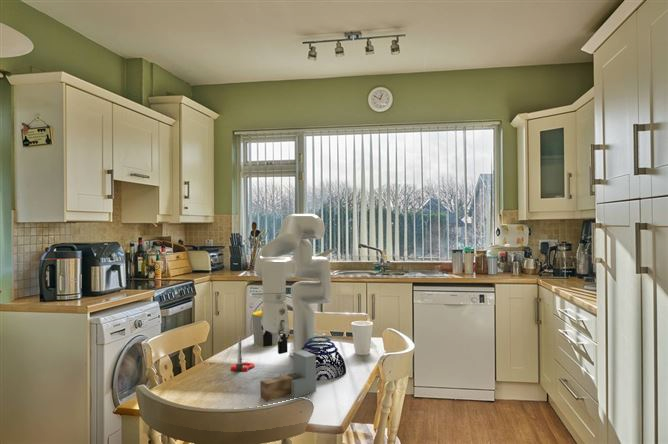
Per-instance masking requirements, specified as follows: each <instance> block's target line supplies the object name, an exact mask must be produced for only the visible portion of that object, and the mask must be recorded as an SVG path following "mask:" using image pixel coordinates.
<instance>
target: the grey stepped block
mask: <svg viewBox="0 0 668 444" xmlns="http://www.w3.org/2000/svg"><path fill="white" fill-rule="evenodd" d="M316 357H317V356H316V355H315V354H312V353H309V352H307V351H304V350H300V351H295V352H293V357H292V367H293V368H292V369H293V370H292V371H288V372H286V373H282V374H281V373H280V374H279V376H283V375H286V374H290V373H294V374H296V375H298V376H299V379H295V380H291V395H290V396H291V397H292V398H295V399H296V398H298V397H302V396H305V395H306V396H307V395H308V394H309V393H312V392H315V391H317V374H316V372H317V369H316V366H317V365H316V362H317V361H316Z"/></svg>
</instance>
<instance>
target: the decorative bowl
mask: <svg viewBox="0 0 668 444" xmlns="http://www.w3.org/2000/svg"><path fill="white" fill-rule="evenodd" d="M326 335H327V334H326V332H315V333H314V334H313V336H315V337H312V338H310V339H309V340H308V341H309V342H307V343H306V344H305V345H304V347H303V348H302V349H301V350H304V348H306V349H309V350H310V351H308V352H309V353H312V354H315V355H316V375H317V376H316V381H321V378H322V377H324V378H326V379H323V381H330V380H334V379H338V378H341V377H343V376H345V374H346V373H347V367H346V363H345V360H344V358H343V356H342V355H341V353H339V349H338V348H337V346H336V345H335V343H334V342H332V341H331V338H329V337H326ZM314 338H315V339H322V340H315V341H313V340H312V339H314ZM323 339H326V340H323ZM309 343H324V344H311V345H307V344H309ZM311 346H324V347H322V348H320V347H311ZM330 349H334V350H331V351H328V350H330ZM312 350H313V351H312ZM304 351H305V350H304ZM313 352H315V353H313ZM318 352H319V353H318ZM332 354H334V356H333V355H332ZM321 367H325V369H324V368H323V369H320V370H318V371H317V369H319V368H321ZM332 367H333V368H332ZM327 368H328V369H329V370H328V369H327ZM320 372H326V373H320ZM319 373H320V374H319ZM332 373H333V374H332Z"/></svg>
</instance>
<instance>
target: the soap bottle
mask: <svg viewBox="0 0 668 444" xmlns="http://www.w3.org/2000/svg"><path fill="white" fill-rule="evenodd" d="M261 301H262V302H263V298H262V299H261ZM251 316H252V317H251V318H252V329H253V330H252V331H253V332H252V333H253V334H252V335H253V344H254V346H255V347H260V348H261V347H262V348H264V347H263V334H262V331H263V330H262V328H261V327H262V325H261V319H262V316H263V305H262V306H261V310H258V311H257V310H256V311H254V312H252V314H251ZM270 334H272V346H271V347H274V346H278V341H279V339H278V336H277V334H273V333H270ZM268 347H269V348H270V346H268ZM268 347H267V348H268Z"/></svg>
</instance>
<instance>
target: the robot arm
mask: <svg viewBox="0 0 668 444" xmlns="http://www.w3.org/2000/svg"><path fill="white" fill-rule="evenodd" d="M325 233H326V228H325V223H324V220H323V219H322V218H321V217H320V216H318V215H316V214H313V213H293V214H288V215H287V216H285V217H284V219H283V220H282V224H281V225H280V229H279V231H278V234H277V237H275V238H273V239H271V240H270V241H268V242H267V243H265V244H264V245H263V246H262V247H261V248H260V250H259V251H258V254H257V257H256V259H255V263H254V273H255V276H256V277H257V278H259V279H262V281H261V282H262V299H263V301H262V303H263V304H262V306H263V316H262V319H261V325H262V327H261V328H262V330H263V331H262V334H263V347H262V348H268V346H269V347H273V346H272V334H270V333H273V334H277V336H278V339H279V341H278V344H277V354H279V355H281V354H286V353H288V341H289V337H290V332H291V329H290V319H289V309H288V303H287V287H286V286H287V285H286V284H287V282H286V280H289V279H292V278H293V277H294V276H295V278H297V279H302V280H301V281H296V282H294V283H293V284H292V285H291V287H290V295H291V296H290V297H291V301H292V302H291V304H292V317H293V318H292V321H293V322H292V323H293V324H292V325H293V326H292V327H293V330H292V331H293V349H291V350H290V352H289V355H290V357H291V358H293V352H295V351H300V350H301V349H302V348H303V347H304V345H305V344H306V343H307V342H309V341H308V340H309V339H310V338H312V337H316V336H313V334H314V333H316V313H315V310H314V309H313V307H312V306H311V305H312V304H314V305H315V304H316V305H317V304H318V305H319V304H321V305H323V304H325V305H326V304H327V303H329V302H330V301H331V299H332V277H331V276H332V273H331V271H332V270H331V264H330V261H329V258H327V257H326V256H314V255H313V254H314V253H313V244H312V243H311V241H310V240H321V239H322V238H323V237H324V235H325ZM290 253H292V257H291V256H290V257H289V256H286V255H287V254H288V255H289V254H290ZM284 255H285V256H284ZM305 279H306V280H305ZM308 280H311V281H308ZM312 280H314V281H312ZM315 280H317V281H315ZM318 280H319V281H318ZM312 340H313V341H316V338H314V339H312ZM311 344H325V343H309V344H307V345H311ZM311 347H320V348H323V347H325V346H311ZM304 350H305V351H307V352H308V351H310V350H309V349H306V348H304ZM312 351H313V350H312ZM313 353H315V352H313ZM318 353H320V352H318Z"/></svg>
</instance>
